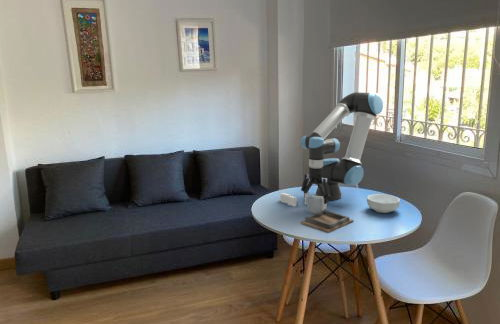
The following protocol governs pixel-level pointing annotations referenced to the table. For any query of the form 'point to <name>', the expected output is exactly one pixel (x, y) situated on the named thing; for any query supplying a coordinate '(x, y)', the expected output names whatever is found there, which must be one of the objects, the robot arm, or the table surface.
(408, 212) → the table surface
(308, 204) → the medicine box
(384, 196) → the cereal bowl
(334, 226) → the wooden tray
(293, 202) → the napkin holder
